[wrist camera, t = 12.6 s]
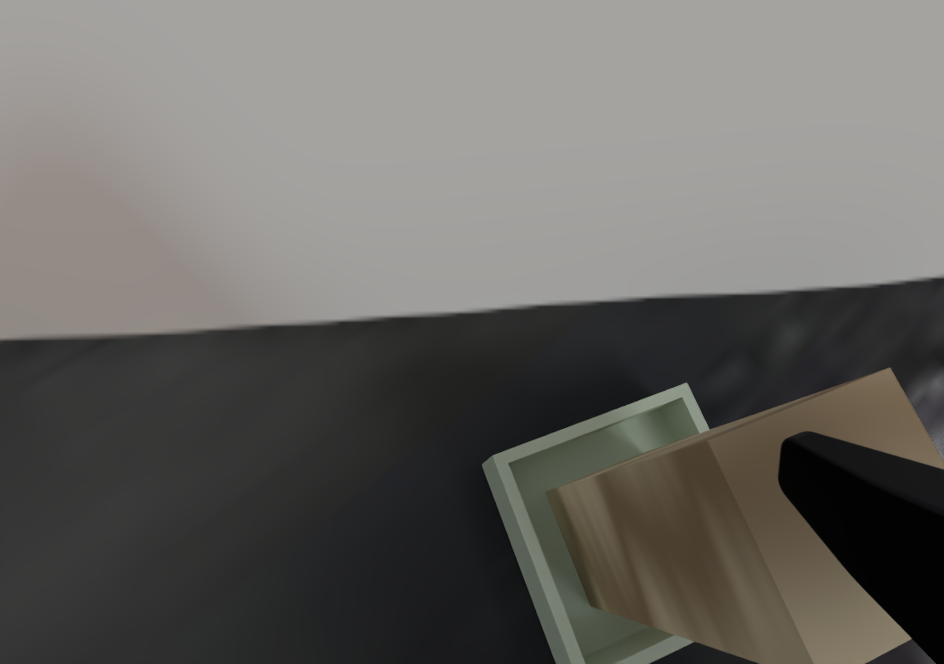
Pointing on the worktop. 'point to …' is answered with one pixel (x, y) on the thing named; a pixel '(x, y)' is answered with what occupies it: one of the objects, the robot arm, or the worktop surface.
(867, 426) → the tan wooden block
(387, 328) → the worktop surface
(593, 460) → the open square box
